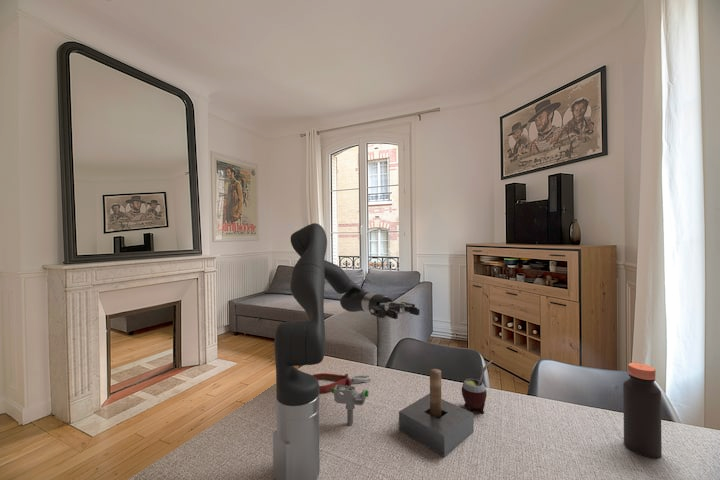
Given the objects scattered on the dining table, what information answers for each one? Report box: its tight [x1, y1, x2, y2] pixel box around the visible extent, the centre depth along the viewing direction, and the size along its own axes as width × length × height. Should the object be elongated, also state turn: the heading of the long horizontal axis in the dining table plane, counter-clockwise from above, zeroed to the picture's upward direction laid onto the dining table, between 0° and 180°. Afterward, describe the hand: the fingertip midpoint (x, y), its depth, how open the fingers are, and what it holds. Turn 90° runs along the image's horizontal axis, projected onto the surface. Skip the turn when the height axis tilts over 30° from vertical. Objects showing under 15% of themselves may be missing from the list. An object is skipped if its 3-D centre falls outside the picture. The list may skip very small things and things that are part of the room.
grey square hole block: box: [398, 393, 475, 458], centre depth 81 cm, size 14×14×5 cm
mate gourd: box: [461, 359, 494, 415], centre depth 92 cm, size 8×8×15 cm
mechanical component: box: [331, 385, 369, 427], centre depth 84 cm, size 3×10×10 cm, turn 79°
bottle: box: [622, 362, 663, 459], centre depth 74 cm, size 7×7×20 cm
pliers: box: [311, 372, 372, 395], centre depth 109 cm, size 12×21×3 cm, turn 103°
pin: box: [429, 368, 442, 419], centre depth 81 cm, size 3×3×16 cm
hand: (408, 313), depth 91 cm, fingers open, 8 cm apart
